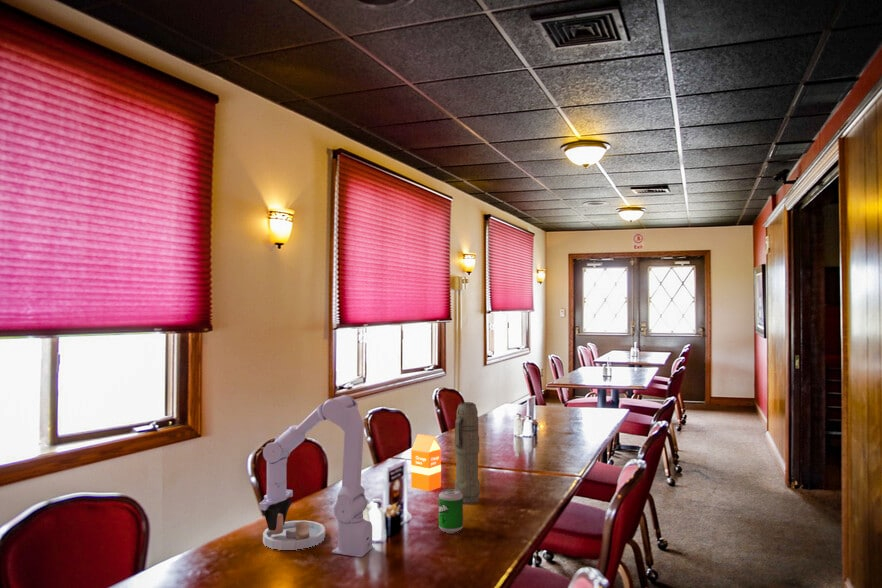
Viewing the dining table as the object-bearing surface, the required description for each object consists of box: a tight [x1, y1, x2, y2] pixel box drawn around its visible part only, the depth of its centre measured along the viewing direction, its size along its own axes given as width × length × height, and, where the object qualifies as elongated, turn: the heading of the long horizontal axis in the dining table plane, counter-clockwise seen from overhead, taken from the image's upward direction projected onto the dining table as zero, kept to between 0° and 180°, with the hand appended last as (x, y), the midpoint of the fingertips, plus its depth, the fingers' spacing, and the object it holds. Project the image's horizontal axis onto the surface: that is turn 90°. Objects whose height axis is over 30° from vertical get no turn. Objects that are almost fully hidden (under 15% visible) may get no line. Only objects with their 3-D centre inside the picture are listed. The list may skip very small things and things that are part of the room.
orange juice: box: [410, 433, 442, 492], centre depth 245 cm, size 8×9×20 cm
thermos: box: [454, 401, 481, 505], centre depth 228 cm, size 9×12×35 cm
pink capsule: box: [269, 513, 283, 535], centre depth 190 cm, size 4×4×5 cm
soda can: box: [438, 488, 464, 534], centre depth 198 cm, size 8×8×12 cm
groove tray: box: [262, 519, 326, 551], centre depth 190 cm, size 18×18×2 cm
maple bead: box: [296, 520, 309, 540], centre depth 186 cm, size 4×4×5 cm
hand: (276, 527), depth 189 cm, fingers closed on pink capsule, 4 cm apart
